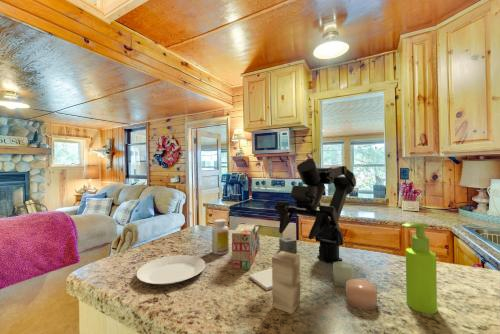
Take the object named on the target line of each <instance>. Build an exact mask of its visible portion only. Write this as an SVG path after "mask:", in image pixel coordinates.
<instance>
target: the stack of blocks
mask: <svg viewBox="0 0 500 334" xmlns="http://www.w3.org/2000/svg"><path fill="white" fill-rule="evenodd" d="M259 250H260V227H259V225H256V224H254V223H253V224H252V223H251V224H250V223H248V224H246V223H239V225H238V226H236V228H235V229H234V230H233V231H232V232H231V259H232V260H231V263H232V264H231V268H232V269H235V270H247V271H248V270H249V271H250V270H251V268H252V266H253V264H254V262H255V259H256V256H257V254H258V252H259Z"/></svg>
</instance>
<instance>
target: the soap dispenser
mask: <svg viewBox="0 0 500 334" xmlns="http://www.w3.org/2000/svg"><path fill="white" fill-rule="evenodd" d="M401 226H403V227H404V228H407V229H411V228H415V234H413V235H411V247H407V248H405V283H406V284H405V285H406V289H405V290H406V291H405V293H406V295H405V296H406V304H407V305H408V307H410V308H411V309H412V310H414V311H416V312H419V313H422V314H429V315H430V314H431V315H432V314H433V315H434V314H436V313H437V312H438V289H437V285H438V282H437V279H438V278H437V275H438V274H437V254H436V252H434V251H431V250H430V238H429V237H428V236H426V235H425V232H426V231H425V228H429V224H428V223H424V222H418V221H417V222H416V221H415V222H414V221H412V222H405V223H403V224H401Z"/></svg>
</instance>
